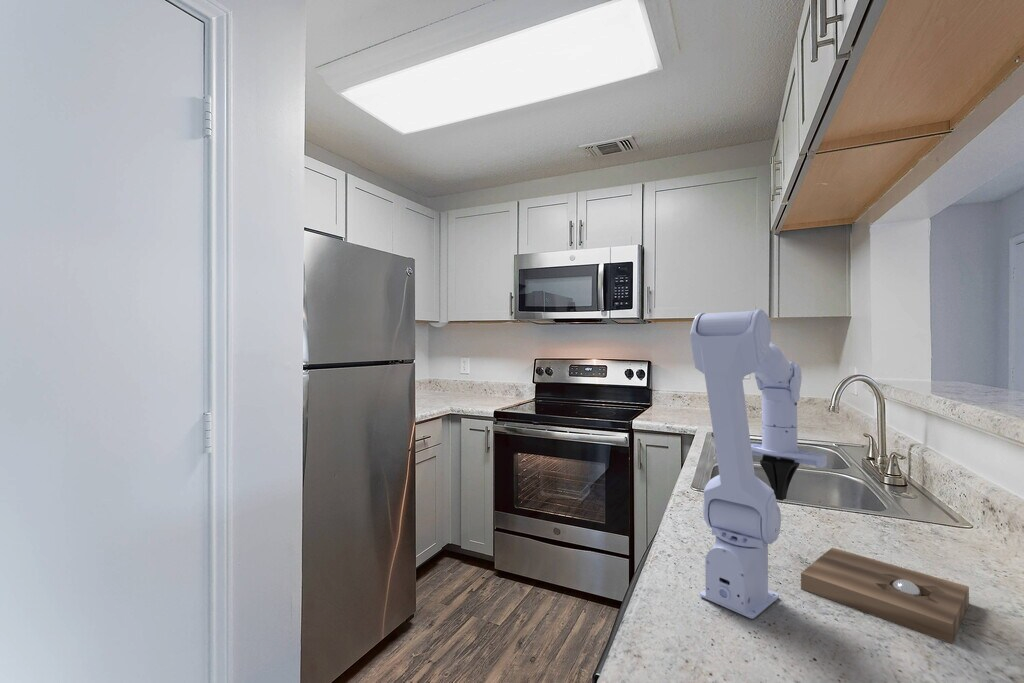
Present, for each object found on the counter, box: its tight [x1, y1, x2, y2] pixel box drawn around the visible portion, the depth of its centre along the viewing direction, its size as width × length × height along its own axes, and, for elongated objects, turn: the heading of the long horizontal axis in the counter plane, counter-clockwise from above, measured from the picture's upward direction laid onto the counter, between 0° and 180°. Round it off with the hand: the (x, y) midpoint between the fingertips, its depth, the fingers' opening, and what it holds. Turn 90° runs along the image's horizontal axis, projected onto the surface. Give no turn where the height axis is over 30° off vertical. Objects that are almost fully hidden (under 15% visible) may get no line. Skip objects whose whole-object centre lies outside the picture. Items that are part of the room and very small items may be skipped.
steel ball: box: [891, 579, 922, 596], centre depth 68 cm, size 4×4×4 cm
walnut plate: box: [800, 547, 970, 645], centre depth 71 cm, size 15×18×2 cm
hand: (780, 498), depth 85 cm, fingers closed
